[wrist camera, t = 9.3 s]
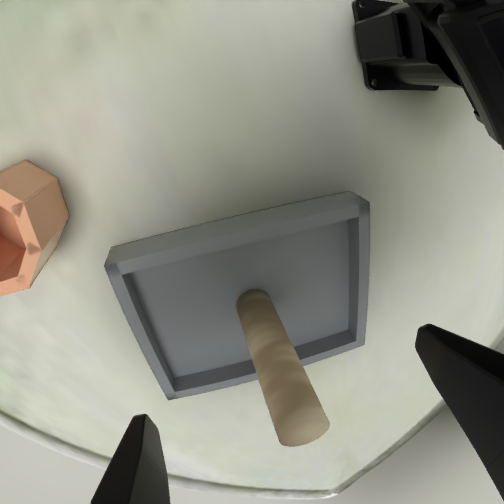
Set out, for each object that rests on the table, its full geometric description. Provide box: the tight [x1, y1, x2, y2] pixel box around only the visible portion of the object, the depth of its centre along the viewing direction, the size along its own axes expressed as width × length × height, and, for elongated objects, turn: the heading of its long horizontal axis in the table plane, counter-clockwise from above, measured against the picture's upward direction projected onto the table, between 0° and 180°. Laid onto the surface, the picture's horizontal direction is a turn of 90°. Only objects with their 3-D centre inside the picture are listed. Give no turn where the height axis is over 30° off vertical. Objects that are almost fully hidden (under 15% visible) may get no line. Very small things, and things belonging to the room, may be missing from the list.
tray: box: [104, 191, 370, 400], centre depth 22 cm, size 16×12×2 cm
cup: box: [0, 160, 69, 296], centre depth 14 cm, size 6×6×5 cm
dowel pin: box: [236, 289, 330, 447], centre depth 17 cm, size 2×2×10 cm
